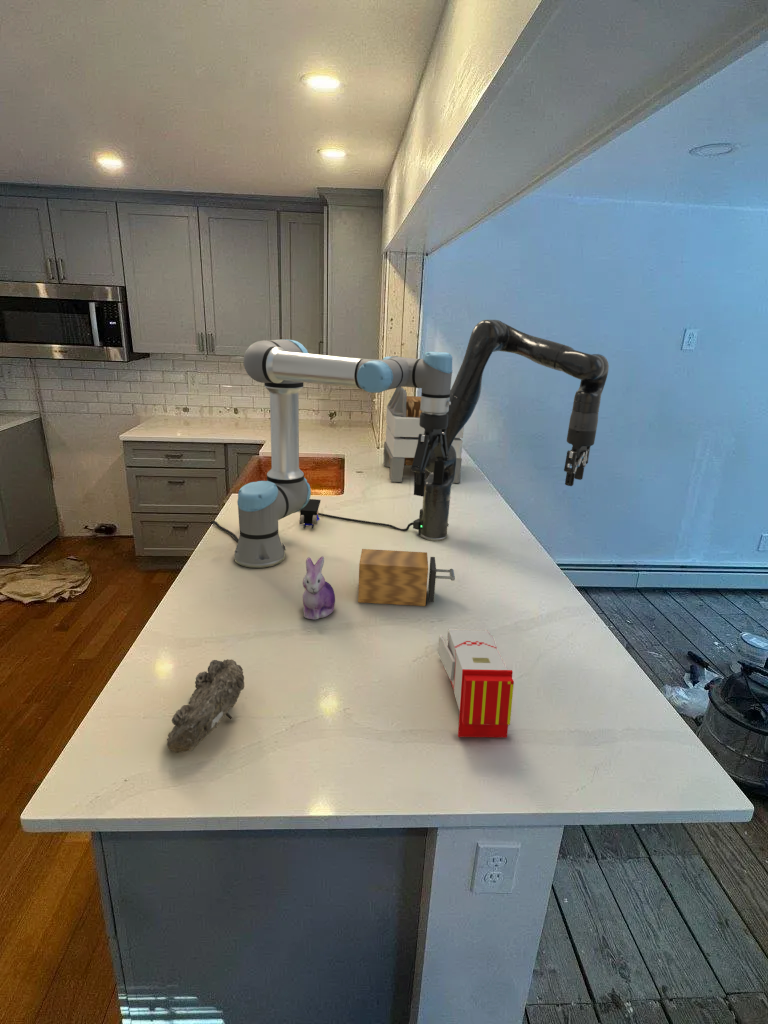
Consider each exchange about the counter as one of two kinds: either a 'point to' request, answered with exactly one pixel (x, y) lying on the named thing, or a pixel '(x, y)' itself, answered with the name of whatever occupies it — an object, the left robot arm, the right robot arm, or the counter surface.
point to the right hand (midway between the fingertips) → (573, 482)
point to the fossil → (206, 705)
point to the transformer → (408, 435)
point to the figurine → (317, 592)
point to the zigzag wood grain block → (393, 577)
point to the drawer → (433, 577)
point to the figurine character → (310, 513)
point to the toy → (478, 682)
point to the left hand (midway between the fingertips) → (428, 489)
